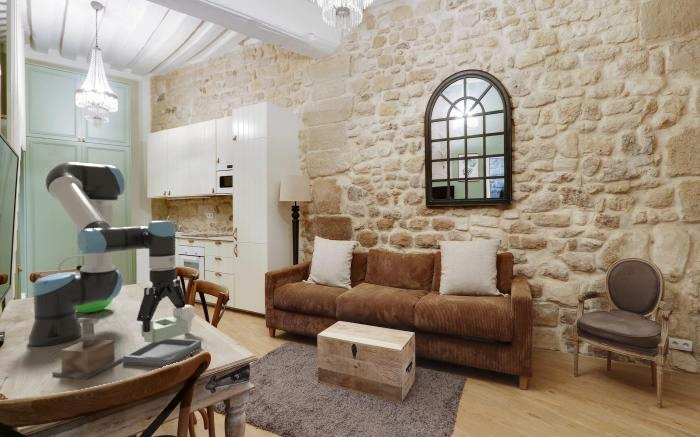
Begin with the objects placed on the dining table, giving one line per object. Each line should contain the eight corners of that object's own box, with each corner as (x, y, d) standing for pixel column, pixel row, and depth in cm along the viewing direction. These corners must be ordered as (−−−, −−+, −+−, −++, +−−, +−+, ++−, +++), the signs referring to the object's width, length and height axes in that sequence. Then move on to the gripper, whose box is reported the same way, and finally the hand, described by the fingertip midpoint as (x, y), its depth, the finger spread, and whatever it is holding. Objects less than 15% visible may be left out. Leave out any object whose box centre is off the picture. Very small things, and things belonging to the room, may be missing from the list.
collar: (188, 332, 116) (187, 320, 116) (156, 342, 108) (155, 329, 108) (173, 327, 122) (172, 315, 122) (141, 336, 114) (141, 323, 114)
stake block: (52, 375, 102) (50, 324, 101) (90, 357, 113) (88, 311, 113) (88, 379, 100) (86, 326, 99) (122, 360, 111) (121, 313, 111)
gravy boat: (122, 307, 170) (121, 276, 169) (93, 318, 153) (92, 284, 153) (87, 306, 172) (86, 275, 171) (55, 316, 155) (54, 283, 154)
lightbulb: (176, 337, 131) (176, 307, 131) (179, 331, 137) (179, 303, 137) (194, 335, 133) (194, 306, 132) (197, 330, 139) (196, 302, 138)
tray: (123, 364, 109) (123, 356, 109) (159, 344, 125) (159, 337, 125) (169, 368, 106) (169, 360, 106) (201, 347, 122) (201, 340, 122)
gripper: (144, 276, 102) (146, 349, 102) (196, 262, 126) (197, 322, 127) (121, 275, 103) (123, 348, 104) (177, 262, 127) (178, 321, 128)
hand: (164, 333), depth 115 cm, fingers closed on collar, 13 cm apart
